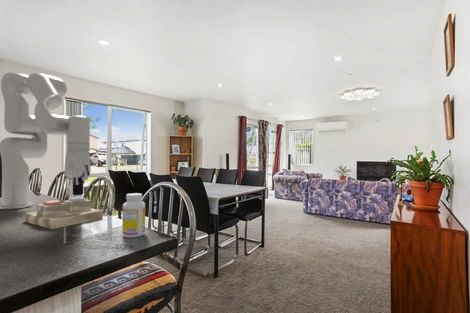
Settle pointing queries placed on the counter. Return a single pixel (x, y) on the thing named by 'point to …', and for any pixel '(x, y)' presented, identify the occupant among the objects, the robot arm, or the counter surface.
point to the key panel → (63, 214)
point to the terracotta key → (52, 203)
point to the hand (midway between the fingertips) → (77, 194)
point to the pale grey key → (77, 199)
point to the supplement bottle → (133, 216)
